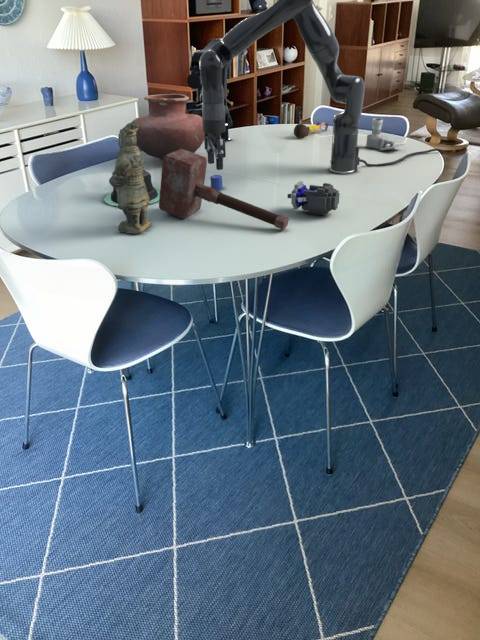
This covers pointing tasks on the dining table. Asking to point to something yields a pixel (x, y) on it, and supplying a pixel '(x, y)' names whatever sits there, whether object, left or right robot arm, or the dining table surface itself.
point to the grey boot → (379, 137)
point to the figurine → (307, 129)
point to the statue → (131, 182)
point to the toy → (315, 198)
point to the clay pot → (168, 126)
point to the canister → (216, 182)
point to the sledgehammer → (200, 190)
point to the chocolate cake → (152, 192)
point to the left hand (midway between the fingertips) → (205, 124)
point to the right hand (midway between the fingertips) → (215, 166)
